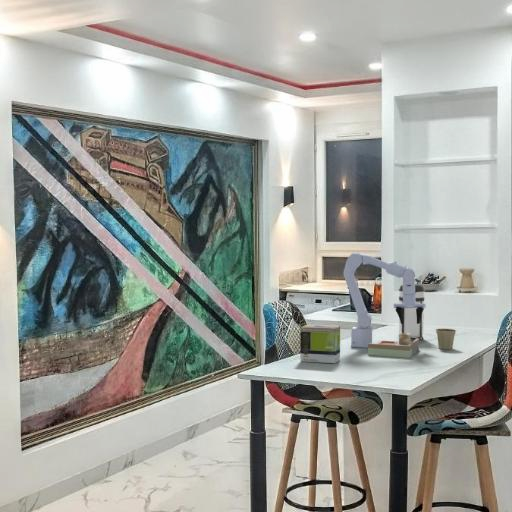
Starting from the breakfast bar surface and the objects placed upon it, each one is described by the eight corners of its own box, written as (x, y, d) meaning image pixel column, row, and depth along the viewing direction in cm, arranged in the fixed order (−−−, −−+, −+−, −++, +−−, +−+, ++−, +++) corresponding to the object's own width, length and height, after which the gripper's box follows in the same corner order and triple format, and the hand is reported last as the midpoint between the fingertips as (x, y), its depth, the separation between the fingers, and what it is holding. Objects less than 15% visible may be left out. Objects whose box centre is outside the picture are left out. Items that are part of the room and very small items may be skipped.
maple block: (398, 344, 359) (399, 334, 358) (400, 342, 363) (400, 332, 363) (408, 344, 357) (409, 334, 357) (410, 343, 361) (410, 333, 361)
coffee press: (433, 339, 394) (435, 279, 393) (411, 341, 385) (412, 280, 384) (408, 335, 409) (409, 277, 407) (386, 337, 400) (387, 278, 398)
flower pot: (456, 350, 361) (456, 331, 360) (435, 349, 362) (435, 331, 362) (455, 347, 370) (455, 329, 369) (434, 346, 372) (435, 328, 371)
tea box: (340, 360, 333) (340, 325, 332) (334, 364, 324) (335, 328, 323) (306, 357, 338) (306, 323, 337) (299, 361, 329) (299, 326, 328)
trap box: (368, 354, 347) (368, 343, 347) (379, 346, 369) (380, 336, 369) (409, 357, 340) (409, 346, 340) (418, 349, 363) (418, 338, 362)
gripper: (426, 293, 366) (427, 322, 366) (396, 293, 372) (397, 322, 373) (422, 294, 360) (423, 324, 360) (391, 294, 366) (393, 324, 367)
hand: (410, 323), depth 366 cm, fingers open, 7 cm apart
